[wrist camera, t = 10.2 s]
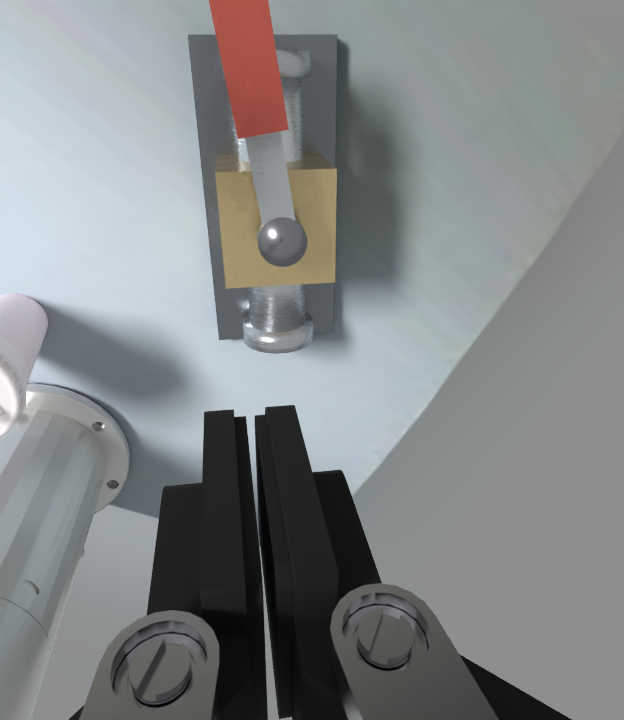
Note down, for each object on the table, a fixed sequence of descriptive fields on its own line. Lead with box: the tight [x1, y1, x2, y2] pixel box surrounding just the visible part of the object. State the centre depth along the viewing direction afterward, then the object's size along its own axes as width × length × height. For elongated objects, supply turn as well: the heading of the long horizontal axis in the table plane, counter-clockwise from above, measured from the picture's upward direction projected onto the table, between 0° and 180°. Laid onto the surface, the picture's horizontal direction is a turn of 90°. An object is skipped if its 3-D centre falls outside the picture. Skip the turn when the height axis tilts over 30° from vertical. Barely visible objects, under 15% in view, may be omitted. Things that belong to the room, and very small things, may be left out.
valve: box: [188, 35, 337, 353], centre depth 30 cm, size 18×8×8 cm, turn 0°
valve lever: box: [209, 0, 307, 267], centre depth 24 cm, size 11×2×2 cm, turn 9°
